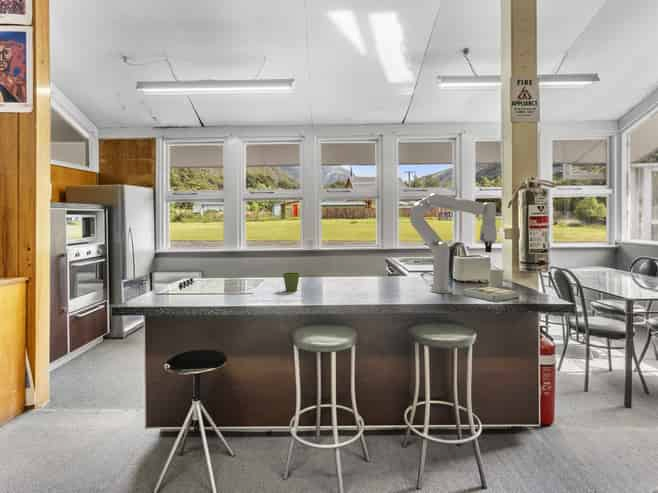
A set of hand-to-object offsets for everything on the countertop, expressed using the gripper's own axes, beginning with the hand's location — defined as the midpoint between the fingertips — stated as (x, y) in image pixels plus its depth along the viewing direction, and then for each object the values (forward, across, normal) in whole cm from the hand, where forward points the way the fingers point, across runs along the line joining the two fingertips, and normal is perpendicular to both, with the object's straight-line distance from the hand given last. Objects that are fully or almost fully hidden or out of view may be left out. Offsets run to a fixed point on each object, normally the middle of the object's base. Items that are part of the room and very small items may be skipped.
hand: (488, 252), depth 254 cm
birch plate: (+26, +2, +9) cm, 27 cm away
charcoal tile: (+22, +14, +3) cm, 27 cm away
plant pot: (+25, +106, -65) cm, 126 cm away
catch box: (+25, +13, +9) cm, 30 cm away
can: (+26, -23, -13) cm, 37 cm away
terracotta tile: (+22, +14, +16) cm, 31 cm away
